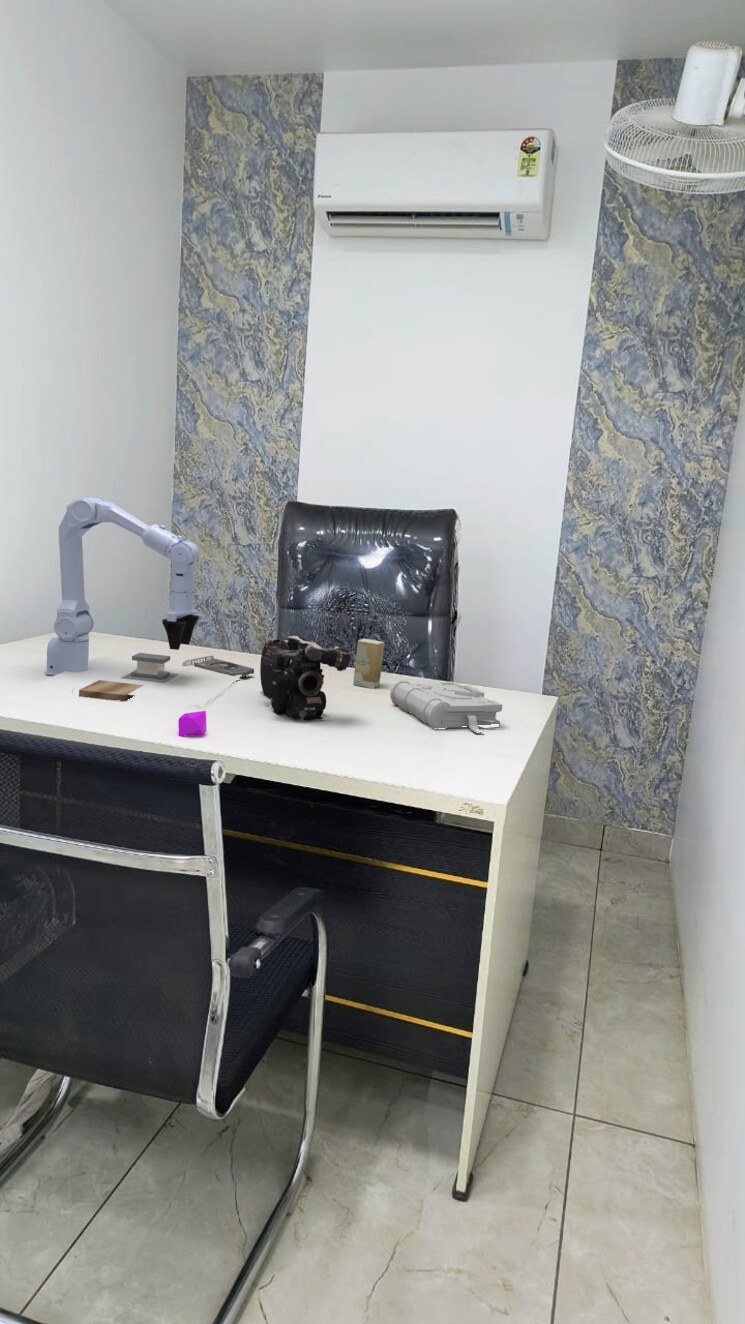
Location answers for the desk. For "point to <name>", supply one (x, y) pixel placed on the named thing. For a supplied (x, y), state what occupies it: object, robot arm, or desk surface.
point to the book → (446, 704)
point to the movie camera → (298, 675)
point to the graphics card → (221, 666)
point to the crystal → (192, 723)
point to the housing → (150, 666)
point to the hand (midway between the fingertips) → (179, 646)
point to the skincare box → (368, 663)
